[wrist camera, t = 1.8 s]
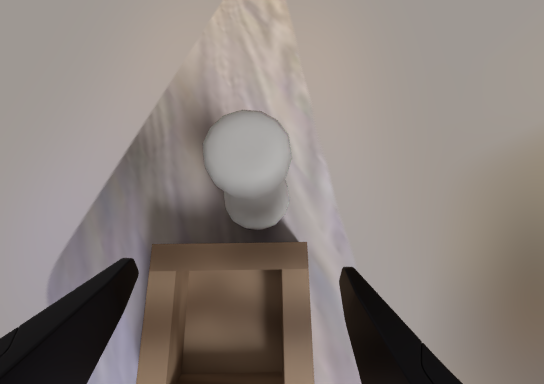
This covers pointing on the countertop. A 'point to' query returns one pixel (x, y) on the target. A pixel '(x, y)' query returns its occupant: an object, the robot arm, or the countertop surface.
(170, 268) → the socket block
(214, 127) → the salt shaker
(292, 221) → the countertop surface
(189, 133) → the countertop surface
